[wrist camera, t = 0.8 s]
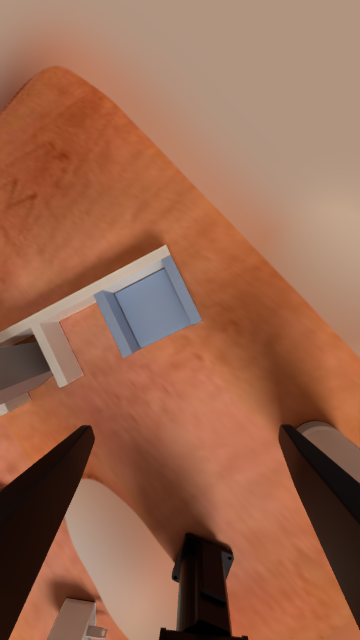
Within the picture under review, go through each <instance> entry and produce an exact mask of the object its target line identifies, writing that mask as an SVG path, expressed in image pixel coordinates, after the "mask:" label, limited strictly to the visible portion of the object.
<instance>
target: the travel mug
mask: <svg viewBox="0 0 360 640" xmlns="http://www.w3.org/2000/svg"><path fill="white" fill-rule="evenodd" d="M296 430H298V431H299V432H300V433H301V434H302V435H304V436H305V437H306V438H307V439H308V440H309V441H311V442H312V443H313V444H314V445H315V446H317V447H318V448H319V449H320V450H321V451H322V452H324V453H325V454H326V455H327V456H328V457H329V458H331V459H332V460H333V461H334V462H335V463H337V464H338V465H339V466H340V467H341V468H342V469H344V470H345V471H346V472H347V473H348V474H350V475H351V476H352V477H353V478H354V479H355V480H357V481H358V482H359V483H360V448H359V447H358V446H357V445H356V444H354V443H353V442H352V441H351V440H349V439H348V438H347V437H345V435H343V434H342V433H341V432H340V431H338V430H337V429H336V428H335V427H333V426H332V425H330V424H328V423H325V422H320V421H311V422H307V423H304V424H302V425H301V426H299V427H298V428H297V429H296Z"/></svg>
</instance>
